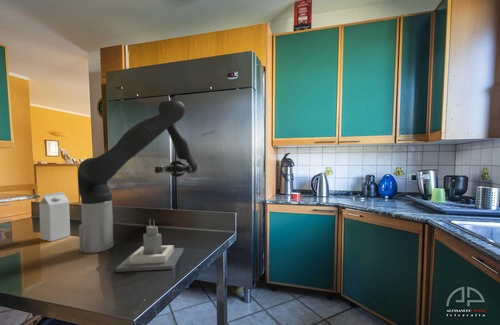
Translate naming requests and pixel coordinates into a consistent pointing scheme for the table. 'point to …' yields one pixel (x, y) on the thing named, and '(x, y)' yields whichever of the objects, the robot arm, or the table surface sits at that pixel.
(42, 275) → the table surface
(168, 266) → the docking plate
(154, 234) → the power adapter
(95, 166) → the robot arm
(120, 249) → the table surface
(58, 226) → the milk carton
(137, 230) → the table surface
